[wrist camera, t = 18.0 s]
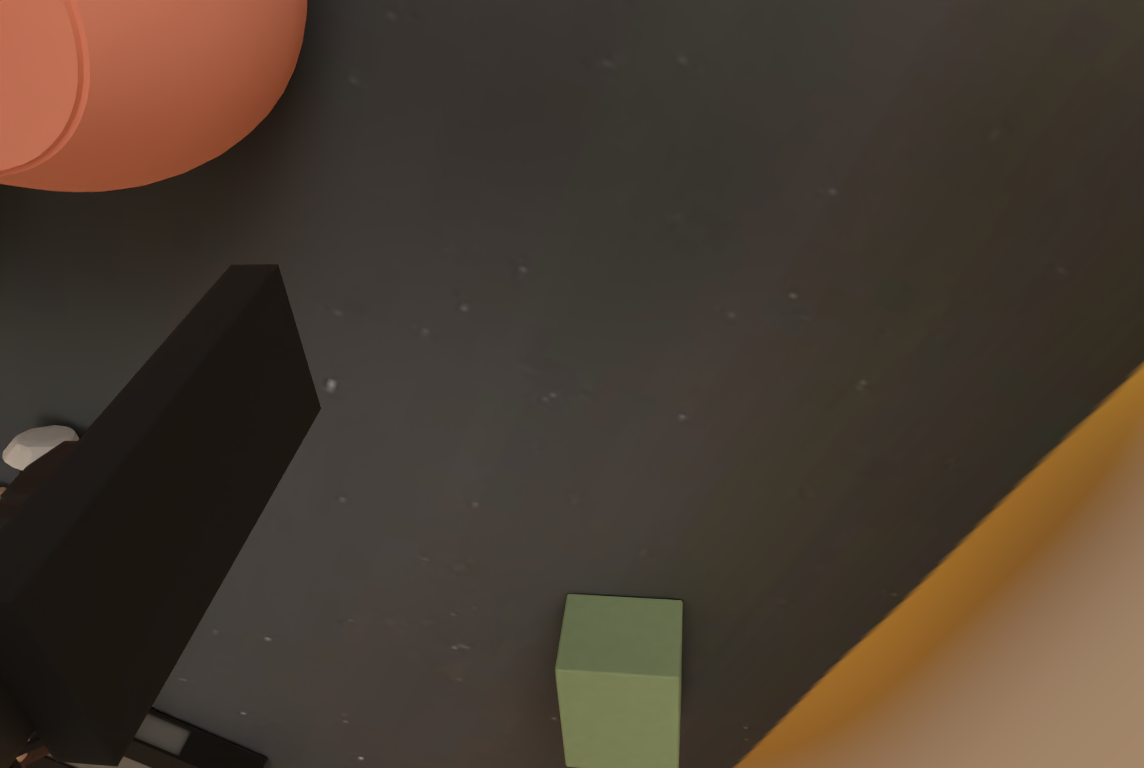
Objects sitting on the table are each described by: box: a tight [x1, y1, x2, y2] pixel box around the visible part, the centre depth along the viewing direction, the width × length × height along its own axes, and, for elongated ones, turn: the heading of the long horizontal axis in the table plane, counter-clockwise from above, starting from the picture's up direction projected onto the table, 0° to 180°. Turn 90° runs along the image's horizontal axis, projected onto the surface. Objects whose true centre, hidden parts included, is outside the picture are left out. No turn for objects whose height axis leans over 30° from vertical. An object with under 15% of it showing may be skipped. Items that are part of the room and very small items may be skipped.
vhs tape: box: [24, 709, 266, 768], centre depth 52 cm, size 8×14×2 cm, turn 58°
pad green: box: [555, 594, 683, 768], centre depth 41 cm, size 7×5×4 cm
